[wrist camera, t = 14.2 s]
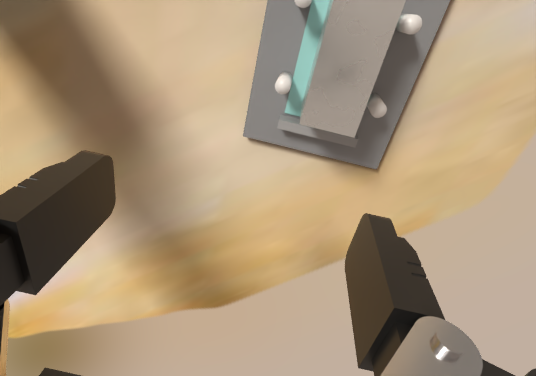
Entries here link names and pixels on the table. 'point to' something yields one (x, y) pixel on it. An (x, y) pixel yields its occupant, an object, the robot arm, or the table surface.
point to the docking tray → (298, 70)
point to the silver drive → (348, 63)
